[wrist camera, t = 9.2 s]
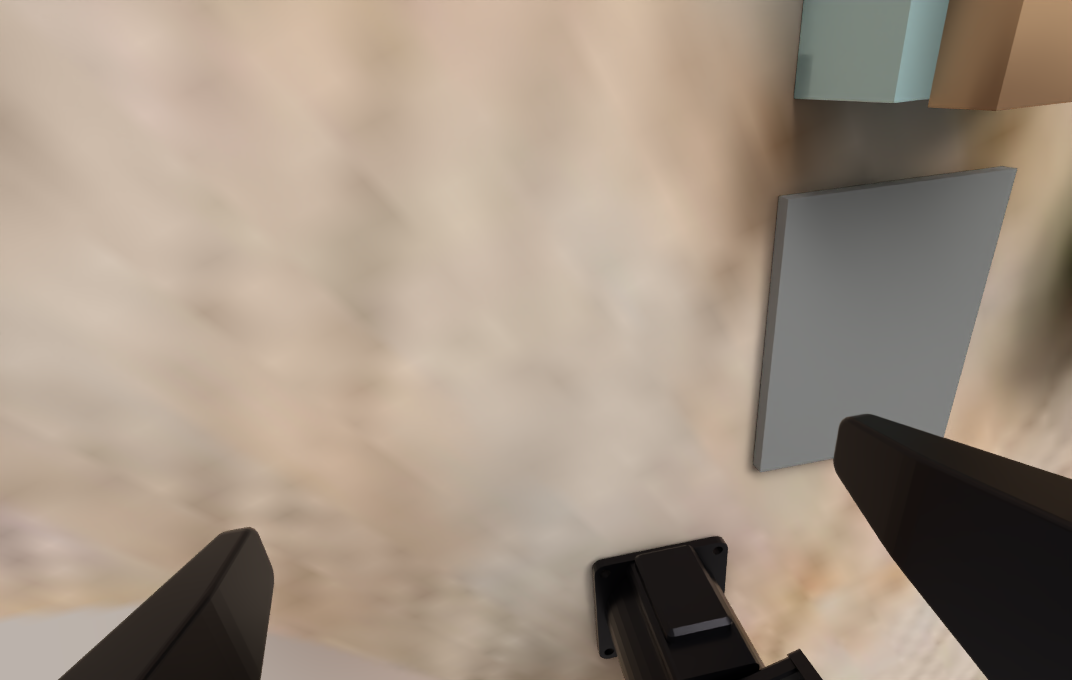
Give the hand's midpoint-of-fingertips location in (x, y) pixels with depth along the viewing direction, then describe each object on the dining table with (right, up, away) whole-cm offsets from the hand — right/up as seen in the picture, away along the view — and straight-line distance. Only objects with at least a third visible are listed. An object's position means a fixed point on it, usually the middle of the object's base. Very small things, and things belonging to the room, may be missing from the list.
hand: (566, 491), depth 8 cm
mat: (+13, +3, +15) cm, 20 cm away
